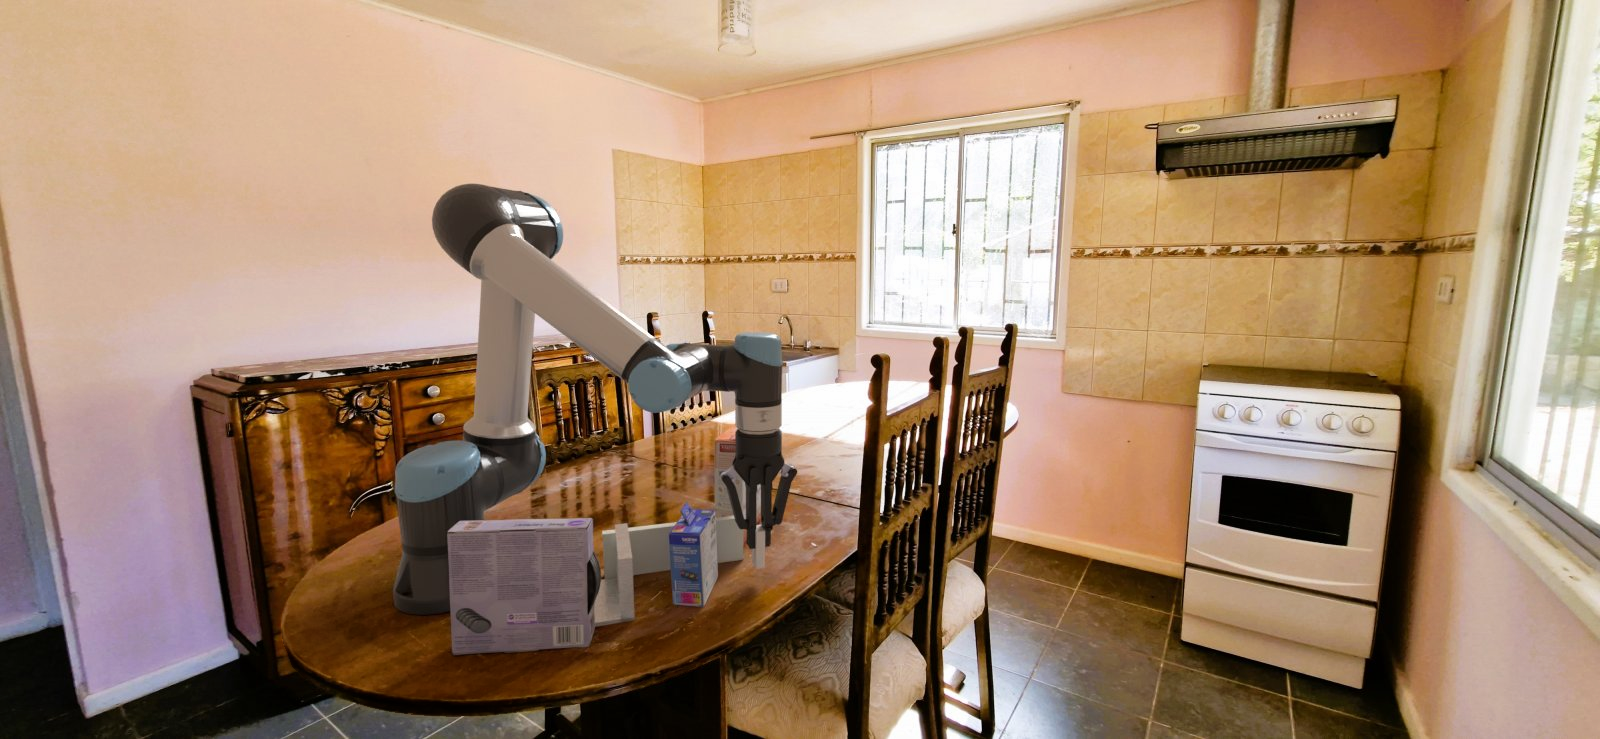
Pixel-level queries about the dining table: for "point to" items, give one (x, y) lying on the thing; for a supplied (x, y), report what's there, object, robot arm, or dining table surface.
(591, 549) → the cake pan box
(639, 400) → the robot arm
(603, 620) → the bookend
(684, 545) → the ink cartridge box
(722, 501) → the cracker box
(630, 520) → the dining table surface
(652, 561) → the back wall
